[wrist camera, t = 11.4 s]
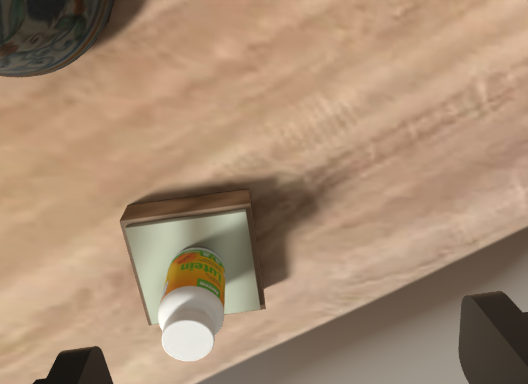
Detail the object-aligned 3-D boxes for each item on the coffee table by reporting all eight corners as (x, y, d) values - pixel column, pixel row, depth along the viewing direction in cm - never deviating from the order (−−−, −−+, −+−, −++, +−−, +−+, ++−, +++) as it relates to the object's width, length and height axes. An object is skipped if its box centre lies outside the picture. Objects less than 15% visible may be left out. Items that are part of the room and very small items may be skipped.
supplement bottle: (231, 251, 42) (230, 318, 33) (218, 297, 44) (215, 373, 35) (174, 240, 42) (158, 307, 33) (164, 288, 43) (146, 363, 35)
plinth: (248, 188, 44) (250, 206, 41) (263, 289, 49) (265, 312, 45) (127, 205, 44) (118, 224, 40) (154, 304, 49) (147, 329, 45)
